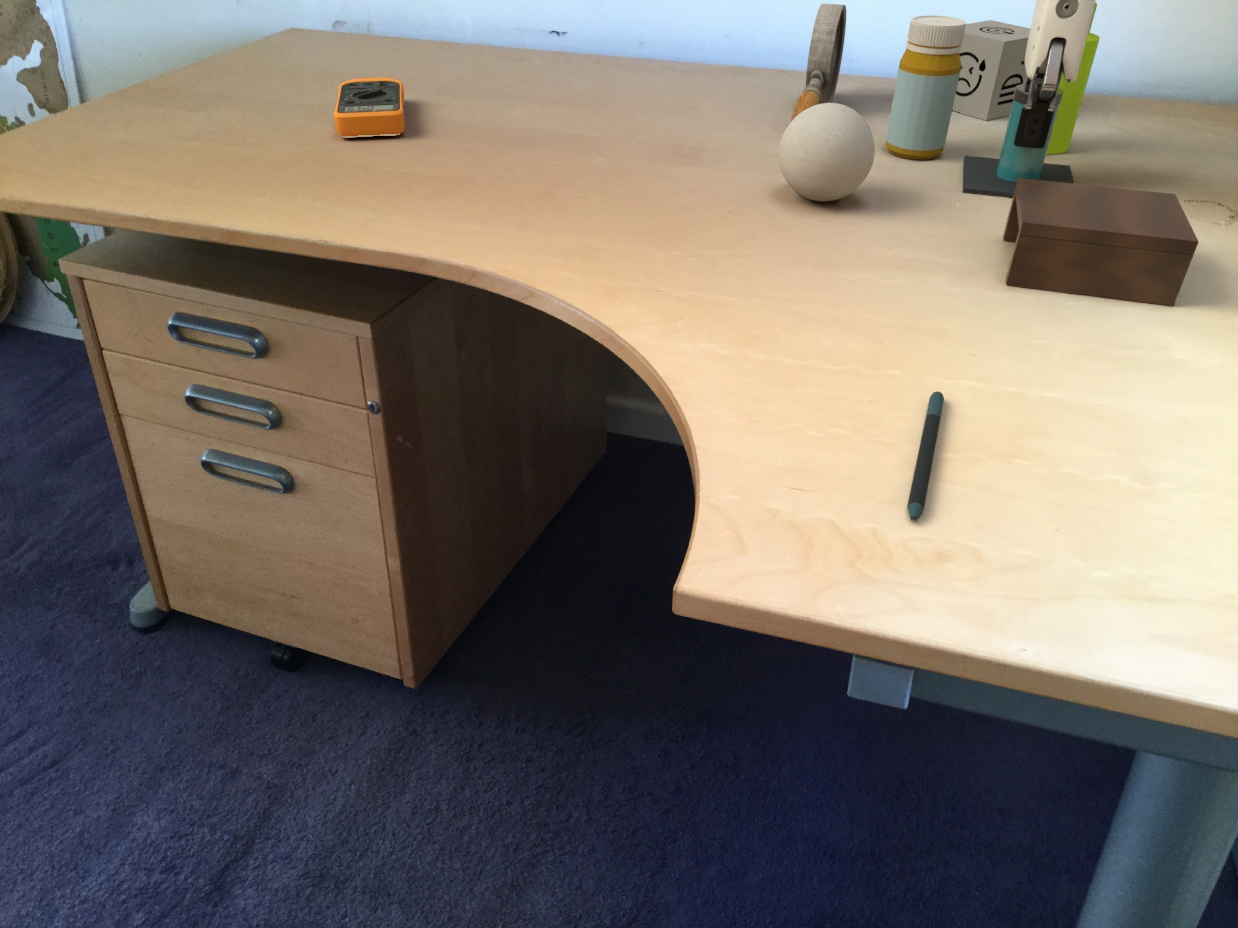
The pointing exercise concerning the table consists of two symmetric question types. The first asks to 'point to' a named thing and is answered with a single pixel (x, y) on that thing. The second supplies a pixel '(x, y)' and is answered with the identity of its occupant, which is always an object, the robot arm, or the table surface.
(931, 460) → the pen
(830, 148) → the ball
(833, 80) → the magnifying glass
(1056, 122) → the soap dispenser
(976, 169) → the mat
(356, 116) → the multimeter
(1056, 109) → the spice jar
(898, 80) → the bottle
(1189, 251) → the wooden box
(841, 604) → the table surface
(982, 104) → the icon cube
